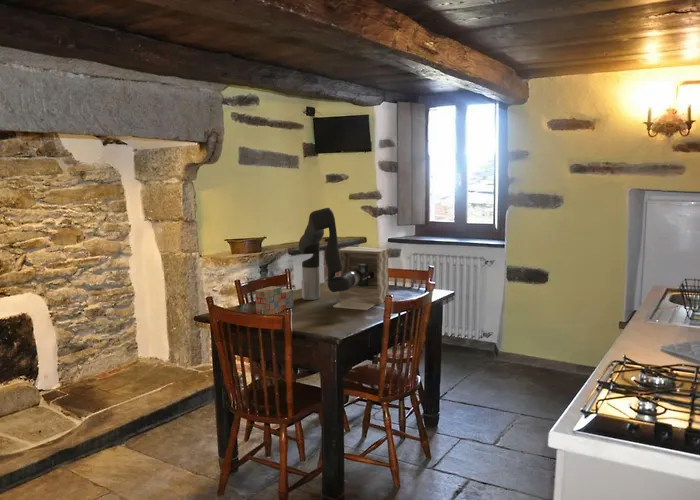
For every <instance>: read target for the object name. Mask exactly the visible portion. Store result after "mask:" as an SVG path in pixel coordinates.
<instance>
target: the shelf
mask: <svg viewBox="0 0 700 500" xmlns="http://www.w3.org/2000/svg"><path fill="white" fill-rule="evenodd" d="M338 249H339V248H338ZM389 251H390V248H388V247H363V246H347V247H346V246H345V247H343V248H340V249H339V254H340V258H341V262H342V267H343V268H342V270H341V271H339V272H338V276H341V275H343V274H345V273H346V272H348V271H351V270H354V269H357V270H358V263H361V262H366V263H368V272H371V271H372V272H373V273H374V278H371V279H368V286H367V287H360V286H359V284H357V285H354V286H351V287H350V289H348V290H346V291H339V293H338V294H339V302H341V301H346V302H359V303H372V304H375V305H377V306H380V305H382V304H383V303H384V299H385V296H386V295H388V296H389ZM381 303H382V304H381ZM375 305H374V306H375Z"/></svg>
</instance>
